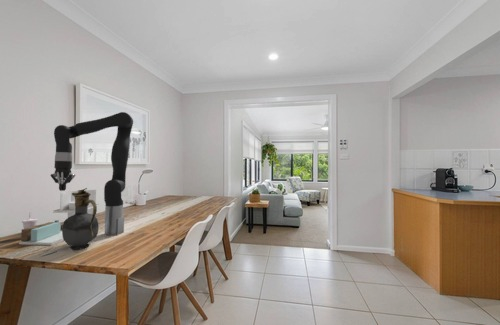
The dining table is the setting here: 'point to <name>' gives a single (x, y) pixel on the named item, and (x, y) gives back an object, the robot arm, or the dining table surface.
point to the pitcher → (81, 223)
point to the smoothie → (29, 222)
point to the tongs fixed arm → (27, 232)
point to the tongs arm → (45, 231)
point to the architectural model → (69, 203)
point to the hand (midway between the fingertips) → (62, 190)
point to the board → (45, 240)
